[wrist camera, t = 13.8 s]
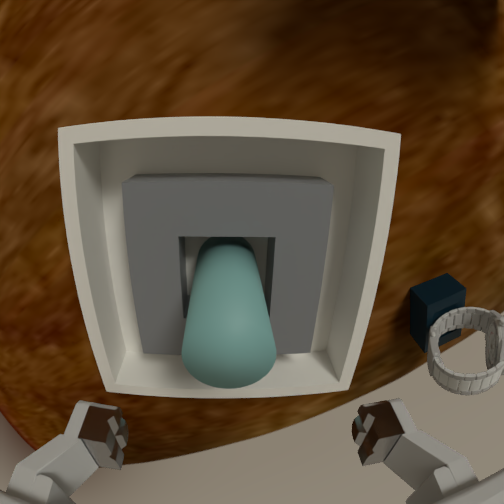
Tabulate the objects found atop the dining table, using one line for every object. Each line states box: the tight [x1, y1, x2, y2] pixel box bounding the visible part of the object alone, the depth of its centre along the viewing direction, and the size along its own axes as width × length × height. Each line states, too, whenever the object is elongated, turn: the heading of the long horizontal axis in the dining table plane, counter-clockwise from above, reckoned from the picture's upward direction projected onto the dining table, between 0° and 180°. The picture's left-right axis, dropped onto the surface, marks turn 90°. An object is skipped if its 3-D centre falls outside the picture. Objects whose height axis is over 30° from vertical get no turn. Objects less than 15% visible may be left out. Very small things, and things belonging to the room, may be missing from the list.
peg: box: [181, 237, 276, 389], centre depth 18 cm, size 4×4×10 cm
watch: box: [410, 273, 504, 395], centre depth 22 cm, size 6×8×11 cm
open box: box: [58, 117, 401, 398], centre depth 21 cm, size 19×19×5 cm
